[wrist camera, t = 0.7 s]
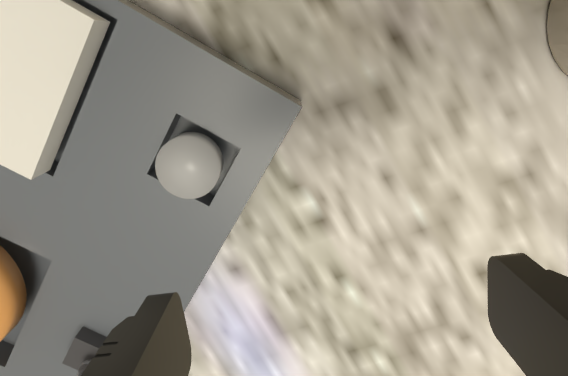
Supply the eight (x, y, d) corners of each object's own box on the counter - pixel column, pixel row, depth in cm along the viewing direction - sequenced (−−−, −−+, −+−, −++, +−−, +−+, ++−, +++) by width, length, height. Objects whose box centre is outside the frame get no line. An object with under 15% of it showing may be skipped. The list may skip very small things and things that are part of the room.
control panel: (-2, -76, 24) (-60, -100, 20) (300, 100, 27) (302, 110, 23) (-116, 294, 32) (-173, 329, 28) (128, 400, 35) (107, 446, 31)
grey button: (178, 120, 25) (171, 125, 23) (234, 150, 25) (230, 157, 24) (153, 172, 26) (144, 180, 24) (207, 200, 26) (201, 209, 25)
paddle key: (14, -33, 22) (-12, -40, 20) (110, 21, 23) (94, 19, 21) (-38, 125, 25) (-64, 132, 23) (50, 170, 26) (31, 179, 24)
